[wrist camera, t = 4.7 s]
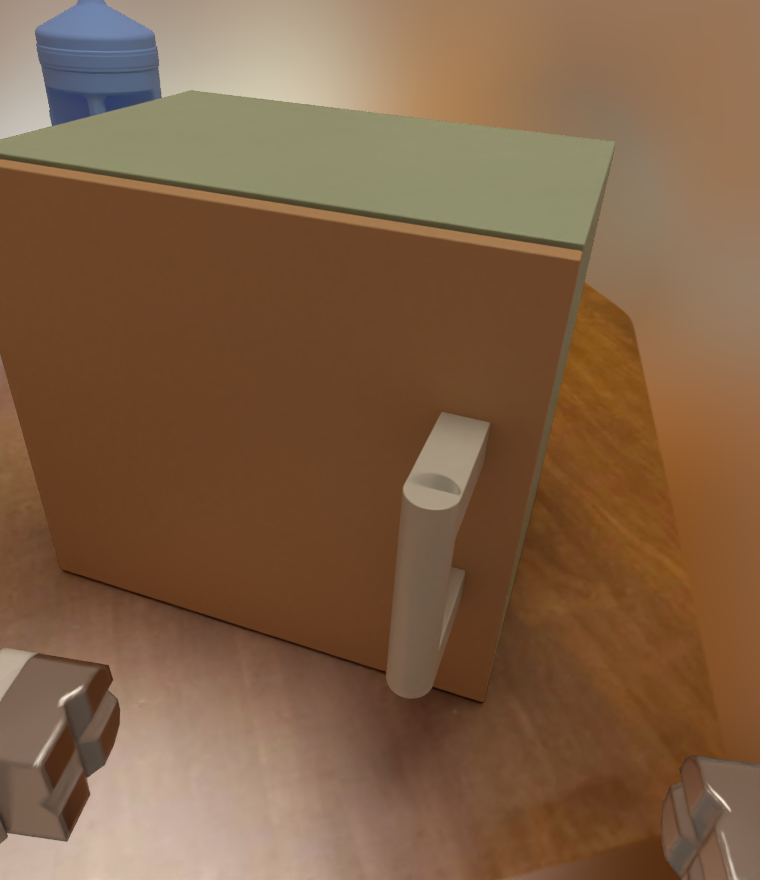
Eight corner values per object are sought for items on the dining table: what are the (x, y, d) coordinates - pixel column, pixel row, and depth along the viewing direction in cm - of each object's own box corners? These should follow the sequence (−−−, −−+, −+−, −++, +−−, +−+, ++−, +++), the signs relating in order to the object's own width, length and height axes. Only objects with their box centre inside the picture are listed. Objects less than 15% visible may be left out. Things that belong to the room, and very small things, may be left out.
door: (455, 812, 32) (558, 334, 19) (-16, 644, 38) (-196, 193, 25) (487, 687, 37) (583, 250, 24) (71, 558, 44) (-37, 152, 30)
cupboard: (487, 685, 38) (585, 243, 24) (74, 557, 44) (-34, 147, 30) (537, 489, 52) (616, 141, 38) (219, 413, 58) (190, 90, 45)
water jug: (77, 172, 114) (38, -39, 98) (178, 174, 116) (156, -32, 100) (52, 201, 101) (3, -36, 85) (166, 203, 103) (139, -28, 87)
